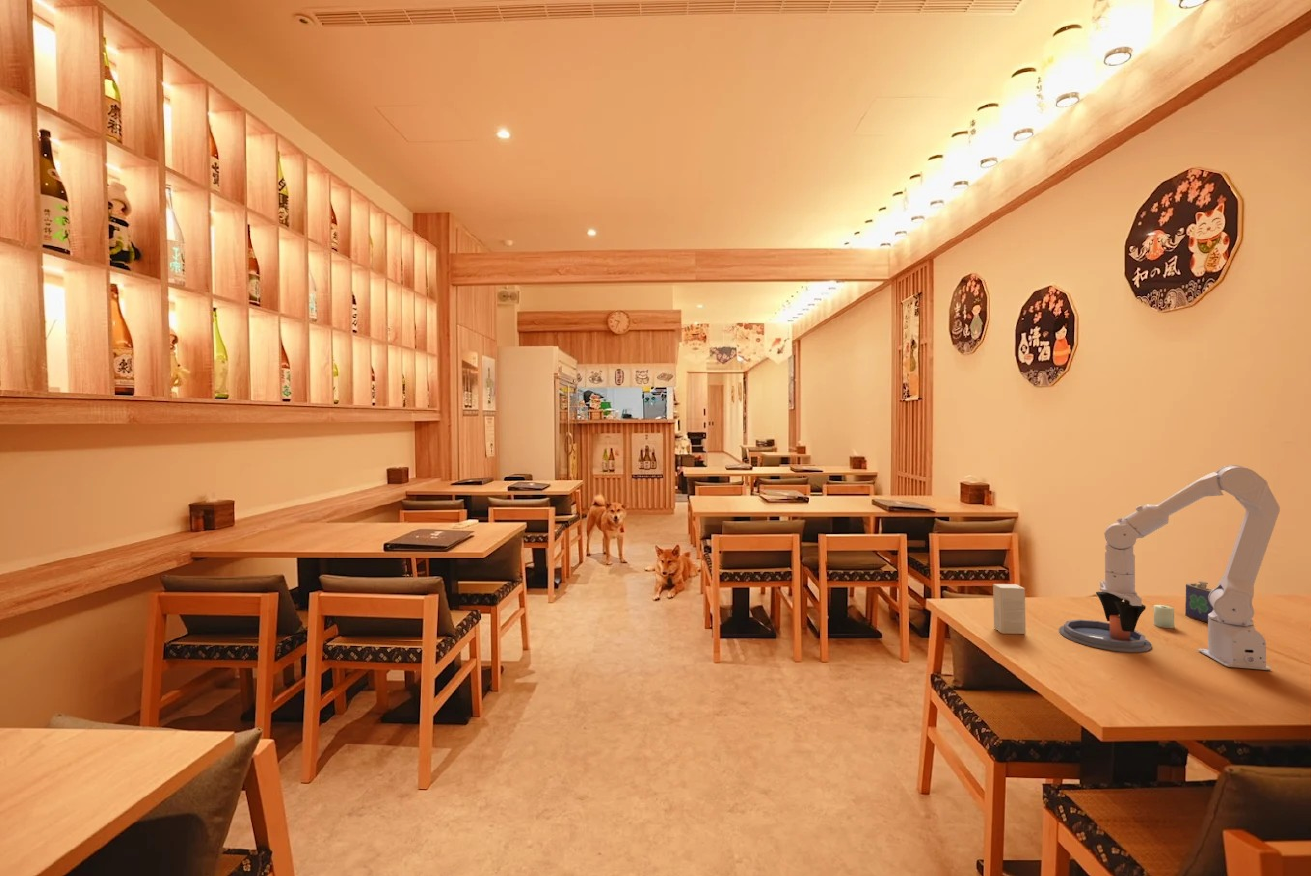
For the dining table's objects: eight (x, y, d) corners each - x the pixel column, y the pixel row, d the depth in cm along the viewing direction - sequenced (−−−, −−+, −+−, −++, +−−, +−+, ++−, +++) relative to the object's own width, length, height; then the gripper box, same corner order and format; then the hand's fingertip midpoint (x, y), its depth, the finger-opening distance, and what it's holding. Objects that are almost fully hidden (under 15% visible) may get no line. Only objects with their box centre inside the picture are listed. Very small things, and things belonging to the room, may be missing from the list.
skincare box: (1016, 628, 146) (1016, 583, 146) (1026, 634, 141) (1025, 588, 141) (992, 628, 146) (992, 583, 146) (1001, 634, 142) (1000, 587, 142)
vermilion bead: (1134, 641, 135) (1134, 620, 135) (1115, 639, 136) (1115, 619, 136) (1124, 635, 139) (1124, 615, 139) (1106, 634, 140) (1106, 614, 140)
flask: (1226, 625, 146) (1225, 585, 146) (1215, 626, 146) (1215, 586, 146) (1191, 614, 156) (1190, 576, 155) (1181, 614, 155) (1180, 577, 155)
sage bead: (1178, 628, 144) (1178, 609, 144) (1161, 628, 145) (1161, 608, 145) (1166, 623, 148) (1166, 604, 148) (1150, 623, 149) (1149, 604, 149)
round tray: (1169, 655, 127) (1169, 647, 127) (1079, 648, 132) (1078, 640, 132) (1125, 628, 145) (1125, 621, 145) (1047, 623, 149) (1047, 616, 149)
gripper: (1086, 564, 145) (1086, 615, 145) (1116, 578, 131) (1116, 634, 131) (1118, 565, 143) (1118, 617, 144) (1152, 580, 129) (1152, 637, 130)
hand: (1119, 626), depth 137 cm, fingers open, 7 cm apart
